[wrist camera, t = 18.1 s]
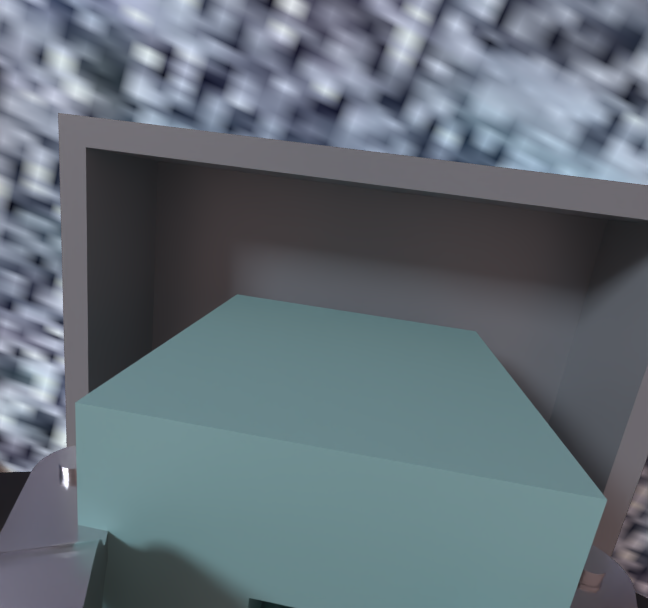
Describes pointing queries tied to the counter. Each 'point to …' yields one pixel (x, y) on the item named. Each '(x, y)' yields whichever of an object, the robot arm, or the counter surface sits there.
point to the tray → (365, 265)
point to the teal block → (328, 470)
